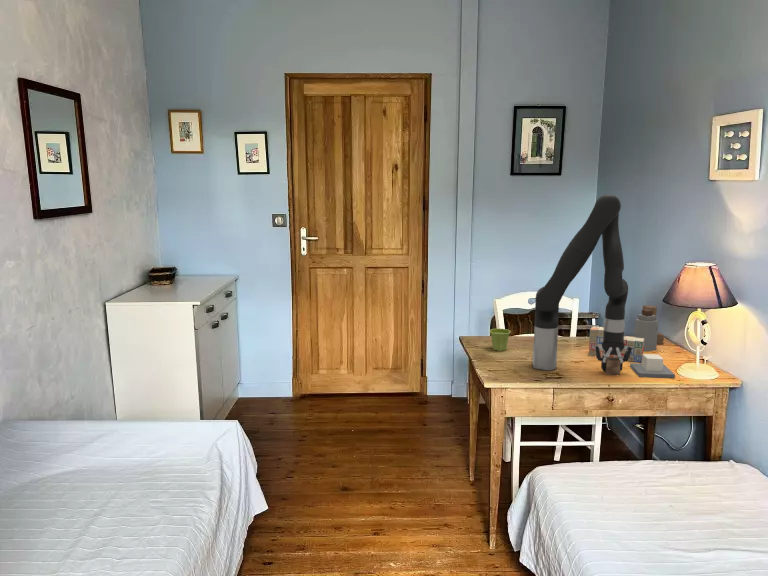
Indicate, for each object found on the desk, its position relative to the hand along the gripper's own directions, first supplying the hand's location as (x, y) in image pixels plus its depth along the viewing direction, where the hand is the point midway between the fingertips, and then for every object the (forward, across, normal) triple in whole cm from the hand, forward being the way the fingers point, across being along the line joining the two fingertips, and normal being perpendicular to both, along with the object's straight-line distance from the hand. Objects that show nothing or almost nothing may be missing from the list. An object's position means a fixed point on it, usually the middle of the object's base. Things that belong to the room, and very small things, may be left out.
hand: (611, 371), depth 225 cm
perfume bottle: (+1, -23, -37) cm, 44 cm away
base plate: (+1, -16, -3) cm, 16 cm away
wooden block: (+1, -29, -47) cm, 55 cm away
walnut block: (+1, 0, 0) cm, 1 cm away
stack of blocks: (+1, -7, -22) cm, 24 cm away
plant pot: (+1, +42, -29) cm, 51 cm away
